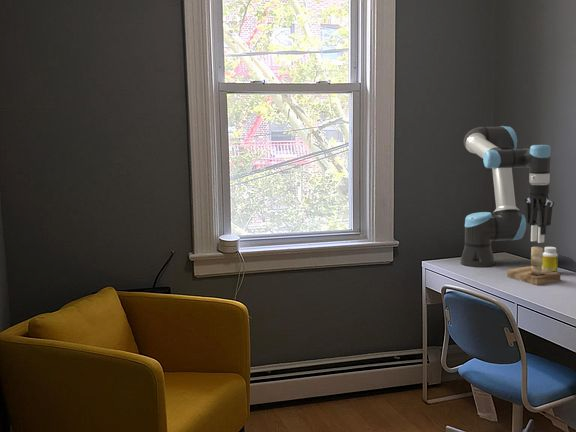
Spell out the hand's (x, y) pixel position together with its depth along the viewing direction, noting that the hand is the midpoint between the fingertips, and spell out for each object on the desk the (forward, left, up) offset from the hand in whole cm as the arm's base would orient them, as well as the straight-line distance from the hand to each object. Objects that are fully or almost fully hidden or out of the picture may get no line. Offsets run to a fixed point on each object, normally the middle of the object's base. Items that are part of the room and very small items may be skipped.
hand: (537, 241), depth 249 cm
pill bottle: (-7, +15, -17) cm, 24 cm away
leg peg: (0, 0, -17) cm, 17 cm away
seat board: (-4, +2, -17) cm, 17 cm away
